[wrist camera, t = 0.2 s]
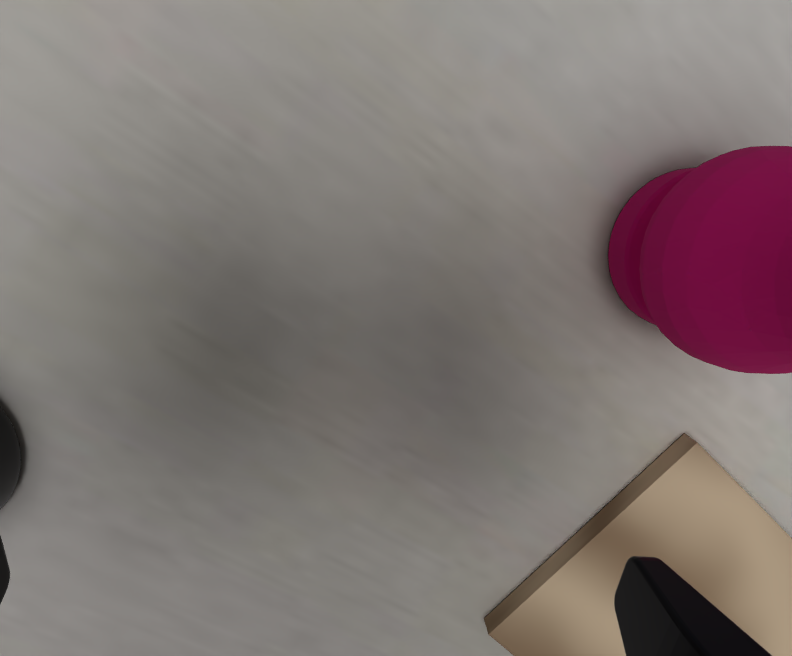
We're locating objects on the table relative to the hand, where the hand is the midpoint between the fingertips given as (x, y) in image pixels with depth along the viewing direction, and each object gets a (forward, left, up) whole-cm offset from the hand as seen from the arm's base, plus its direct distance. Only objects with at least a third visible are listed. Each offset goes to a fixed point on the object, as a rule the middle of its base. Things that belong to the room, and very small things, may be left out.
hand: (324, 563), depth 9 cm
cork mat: (+1, -20, -15) cm, 26 cm away
